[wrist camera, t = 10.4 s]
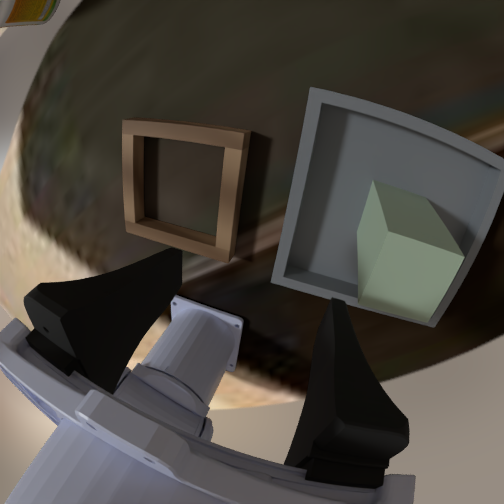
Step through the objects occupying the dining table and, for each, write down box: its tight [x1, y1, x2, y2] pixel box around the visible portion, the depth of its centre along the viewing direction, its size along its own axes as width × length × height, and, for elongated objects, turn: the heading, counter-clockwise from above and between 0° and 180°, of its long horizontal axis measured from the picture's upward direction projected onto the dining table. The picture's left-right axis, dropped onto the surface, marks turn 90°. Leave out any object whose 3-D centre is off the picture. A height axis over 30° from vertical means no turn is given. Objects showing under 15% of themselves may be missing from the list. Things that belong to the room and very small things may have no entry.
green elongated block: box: [357, 180, 465, 323], centre depth 15 cm, size 4×4×8 cm
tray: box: [271, 87, 504, 327], centre depth 18 cm, size 14×14×2 cm
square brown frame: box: [122, 118, 251, 263], centre depth 22 cm, size 10×10×2 cm
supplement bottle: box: [0, 0, 60, 28], centre depth 12 cm, size 5×5×10 cm
